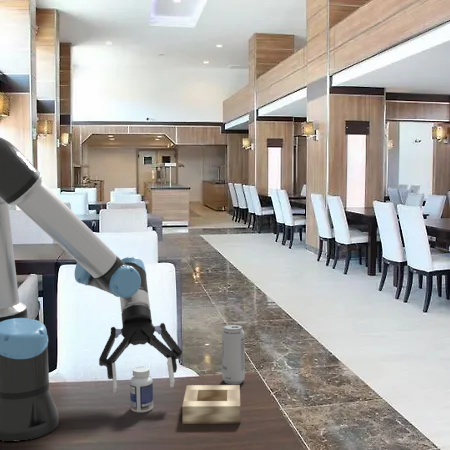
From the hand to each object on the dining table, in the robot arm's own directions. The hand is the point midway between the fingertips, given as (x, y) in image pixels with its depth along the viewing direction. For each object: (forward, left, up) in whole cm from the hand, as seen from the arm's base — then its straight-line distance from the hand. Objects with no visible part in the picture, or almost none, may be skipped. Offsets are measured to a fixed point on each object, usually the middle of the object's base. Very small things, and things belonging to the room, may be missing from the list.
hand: (144, 387), depth 139 cm
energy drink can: (+21, +19, -6) cm, 29 cm away
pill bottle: (-1, +1, -6) cm, 6 cm away
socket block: (+16, -1, -5) cm, 17 cm away
